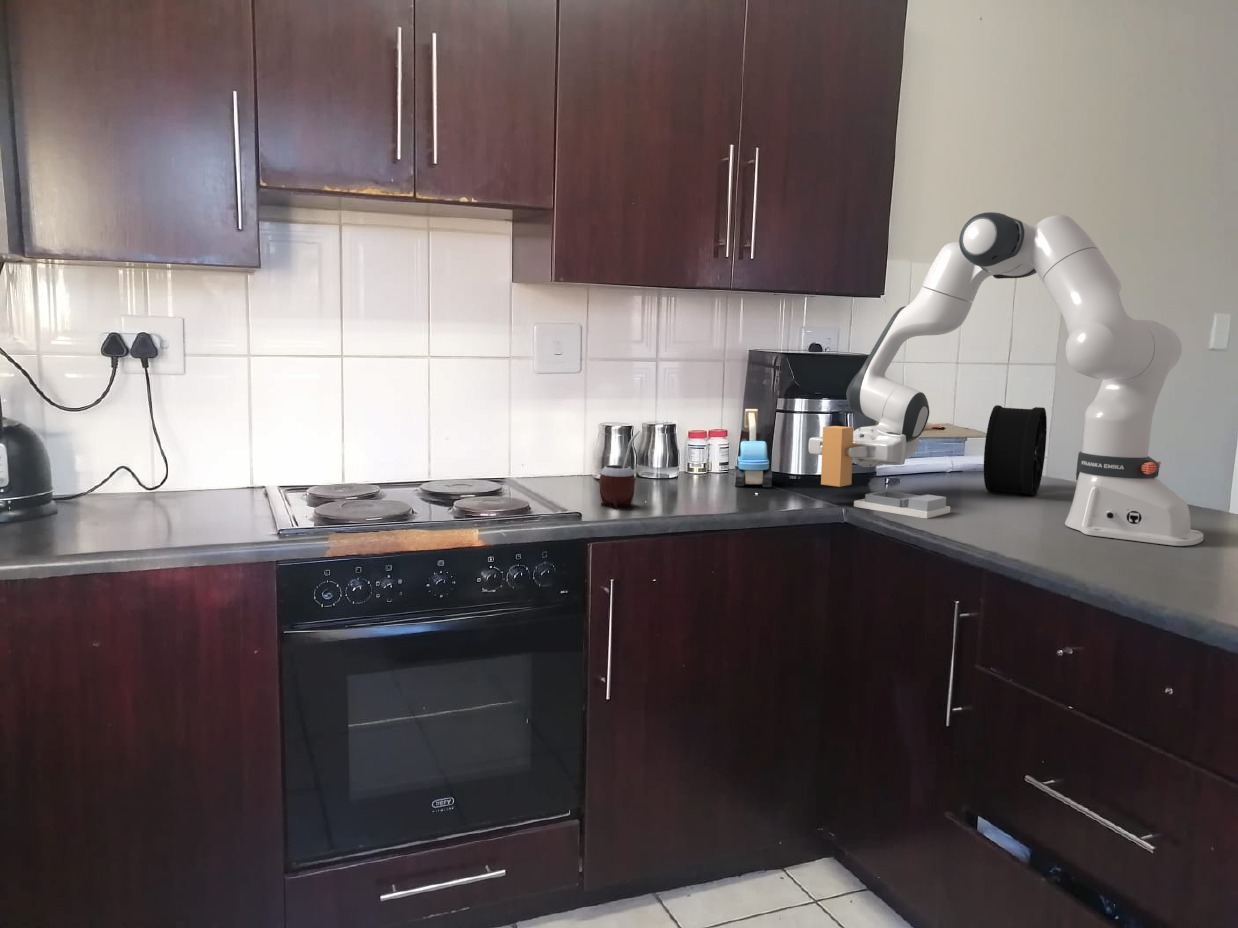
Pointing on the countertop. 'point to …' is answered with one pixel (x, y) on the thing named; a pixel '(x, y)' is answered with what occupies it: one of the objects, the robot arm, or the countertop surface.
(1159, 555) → the countertop surface
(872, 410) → the robot arm
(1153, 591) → the countertop surface
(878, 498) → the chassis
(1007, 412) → the car wheel rim
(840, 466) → the tall tan wooden block
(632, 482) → the mate gourd
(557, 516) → the countertop surface
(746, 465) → the toy excavator
